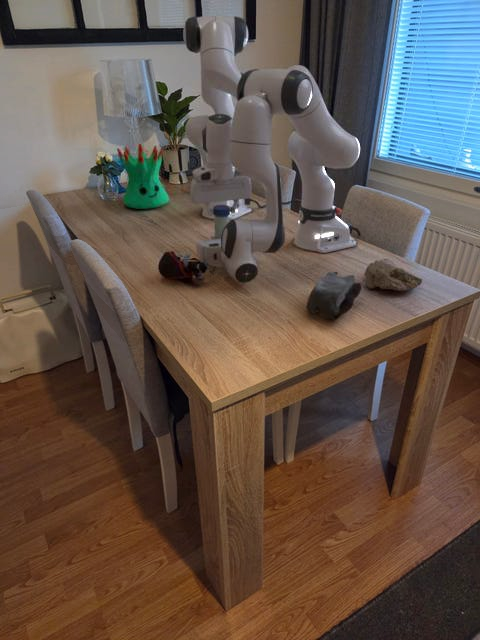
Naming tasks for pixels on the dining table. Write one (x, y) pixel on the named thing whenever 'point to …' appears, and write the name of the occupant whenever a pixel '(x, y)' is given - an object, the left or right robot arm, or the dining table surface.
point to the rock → (333, 295)
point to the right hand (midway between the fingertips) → (221, 237)
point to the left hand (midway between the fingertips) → (221, 213)
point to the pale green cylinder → (220, 225)
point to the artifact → (389, 276)
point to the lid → (221, 210)
